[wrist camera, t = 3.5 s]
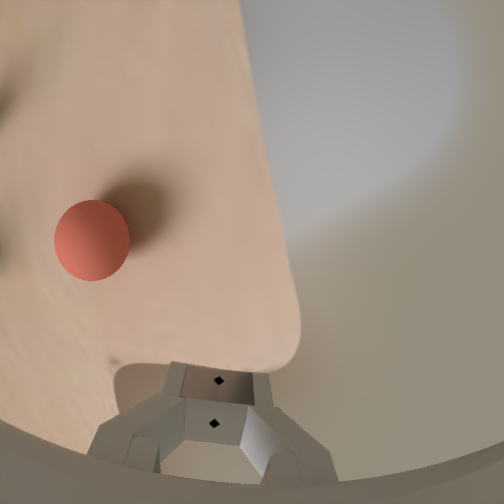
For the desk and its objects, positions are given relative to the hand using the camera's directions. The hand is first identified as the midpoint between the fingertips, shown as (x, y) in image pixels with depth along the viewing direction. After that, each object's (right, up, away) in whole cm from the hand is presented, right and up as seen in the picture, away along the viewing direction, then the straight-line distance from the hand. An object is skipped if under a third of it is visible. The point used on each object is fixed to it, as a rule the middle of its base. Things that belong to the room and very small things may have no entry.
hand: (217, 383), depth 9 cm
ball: (-10, +5, +10) cm, 15 cm away
